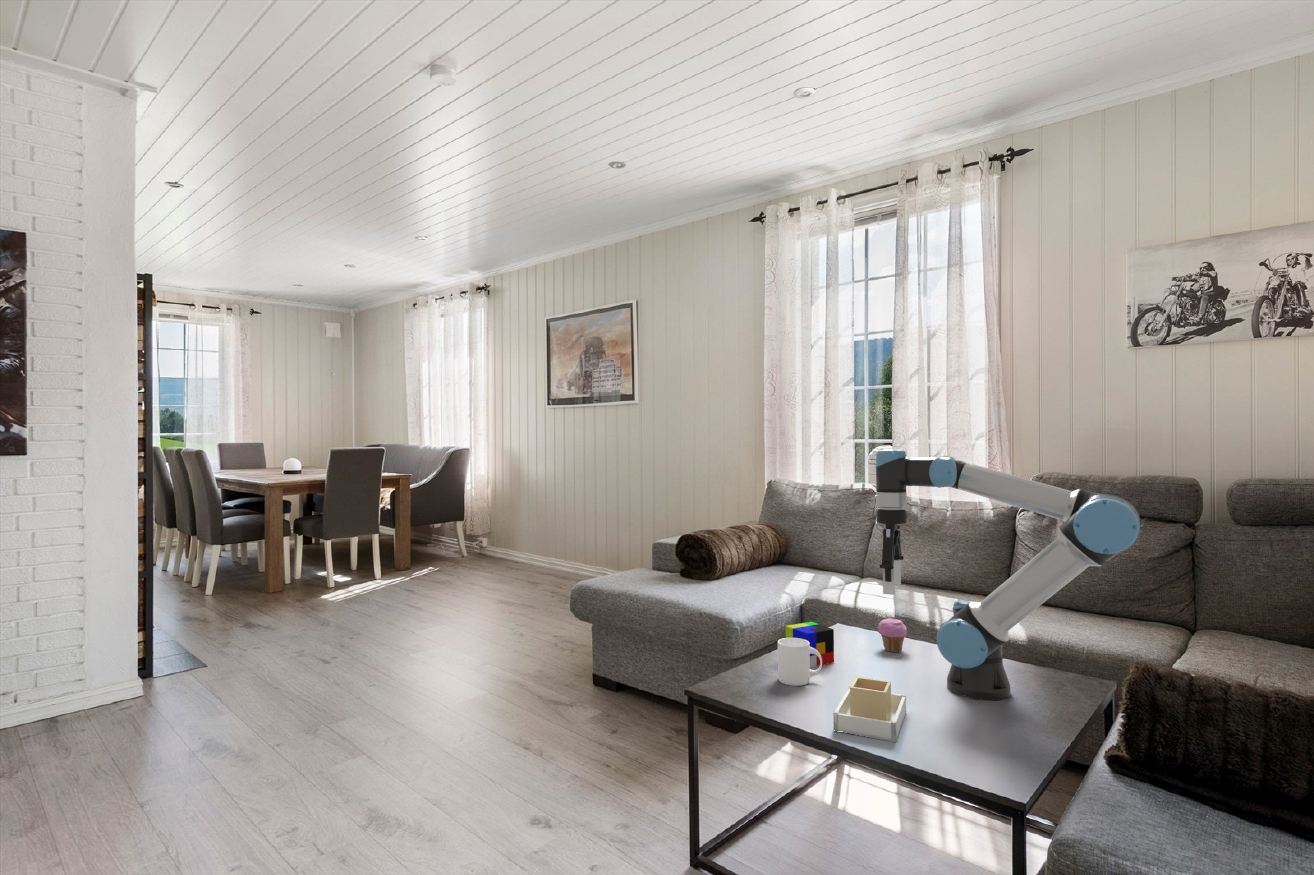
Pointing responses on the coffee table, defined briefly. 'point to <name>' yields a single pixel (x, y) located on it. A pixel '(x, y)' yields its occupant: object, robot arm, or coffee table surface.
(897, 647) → the cupcake
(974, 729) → the coffee table surface
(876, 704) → the small crate
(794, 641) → the mug
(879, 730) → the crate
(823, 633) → the puzzle toy
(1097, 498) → the robot arm
